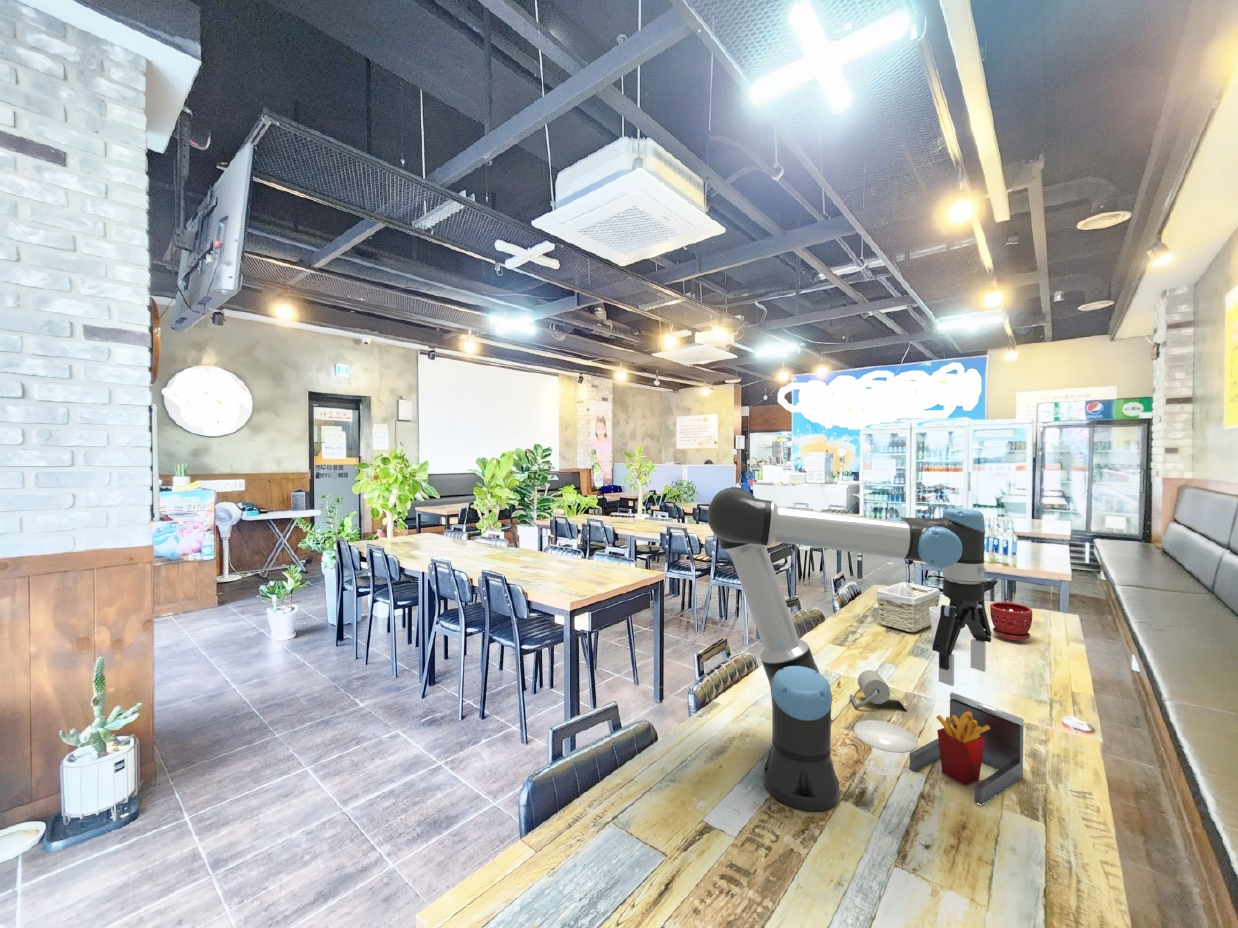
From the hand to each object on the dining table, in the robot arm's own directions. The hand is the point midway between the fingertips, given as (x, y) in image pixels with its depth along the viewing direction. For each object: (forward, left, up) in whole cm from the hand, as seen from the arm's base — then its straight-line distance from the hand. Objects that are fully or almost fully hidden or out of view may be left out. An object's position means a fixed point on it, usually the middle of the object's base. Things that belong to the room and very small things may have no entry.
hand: (962, 676), depth 112 cm
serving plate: (+1, +18, -23) cm, 29 cm away
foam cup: (+80, +44, -23) cm, 95 cm away
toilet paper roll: (+18, +27, -26) cm, 42 cm away
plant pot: (+112, +35, -23) cm, 119 cm away
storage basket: (+93, +65, -23) cm, 116 cm away
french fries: (0, -1, -23) cm, 23 cm away
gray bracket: (0, 0, -23) cm, 23 cm away
